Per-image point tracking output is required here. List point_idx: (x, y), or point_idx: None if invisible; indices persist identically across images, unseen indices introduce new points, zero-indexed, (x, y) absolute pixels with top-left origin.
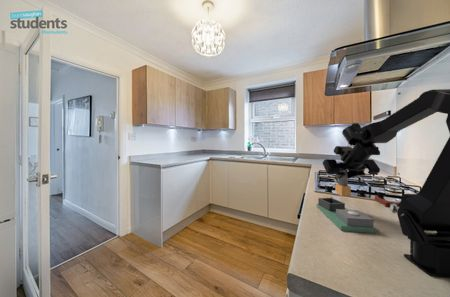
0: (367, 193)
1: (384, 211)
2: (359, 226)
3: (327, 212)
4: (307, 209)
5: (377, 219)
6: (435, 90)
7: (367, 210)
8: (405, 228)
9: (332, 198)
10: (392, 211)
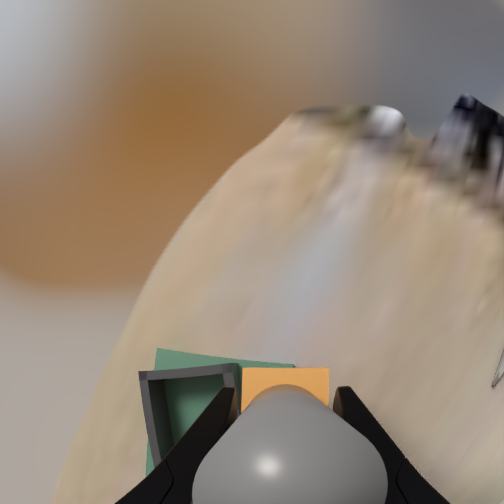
0: (500, 136)
1: (474, 373)
2: None
3: (150, 470)
4: (105, 382)
5: None
6: None
7: (413, 378)
8: None
9: (226, 380)
10: (494, 382)
